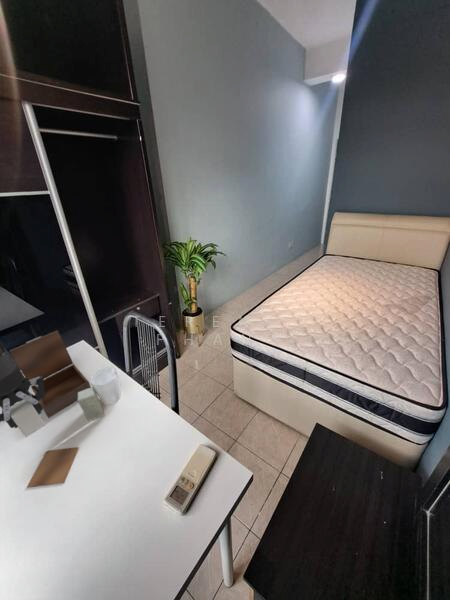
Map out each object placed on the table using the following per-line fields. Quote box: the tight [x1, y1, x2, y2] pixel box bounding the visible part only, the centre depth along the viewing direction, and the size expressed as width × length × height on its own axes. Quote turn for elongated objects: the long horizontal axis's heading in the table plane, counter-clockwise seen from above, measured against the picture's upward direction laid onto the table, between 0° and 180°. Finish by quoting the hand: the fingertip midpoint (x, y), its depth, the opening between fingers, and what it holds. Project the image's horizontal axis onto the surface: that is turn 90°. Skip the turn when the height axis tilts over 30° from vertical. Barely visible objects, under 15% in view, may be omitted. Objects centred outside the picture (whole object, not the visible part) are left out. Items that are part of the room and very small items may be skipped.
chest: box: [30, 363, 92, 419], centre depth 96 cm, size 16×16×6 cm
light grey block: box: [10, 400, 46, 438], centre depth 65 cm, size 4×4×8 cm
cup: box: [90, 367, 123, 406], centre depth 92 cm, size 9×9×12 cm
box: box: [76, 386, 105, 421], centre depth 86 cm, size 5×4×11 cm
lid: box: [9, 330, 74, 387], centre depth 97 cm, size 16×16×5 cm
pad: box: [26, 446, 80, 488], centre depth 74 cm, size 10×10×1 cm
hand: (28, 418), depth 66 cm, fingers closed on light grey block, 4 cm apart
